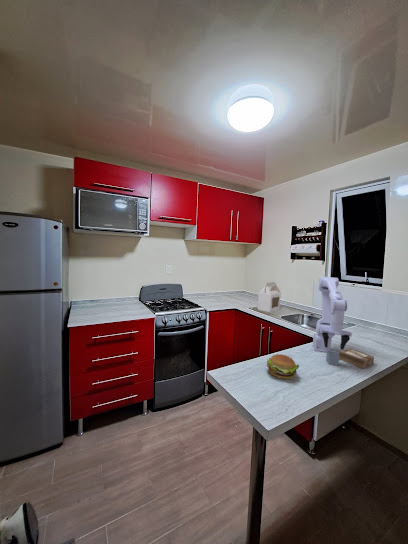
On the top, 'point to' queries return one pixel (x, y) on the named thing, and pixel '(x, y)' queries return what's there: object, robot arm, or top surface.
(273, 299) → the gable box
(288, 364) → the food
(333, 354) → the block
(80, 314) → the top surface
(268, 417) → the top surface
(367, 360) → the walnut base
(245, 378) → the top surface
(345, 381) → the top surface
